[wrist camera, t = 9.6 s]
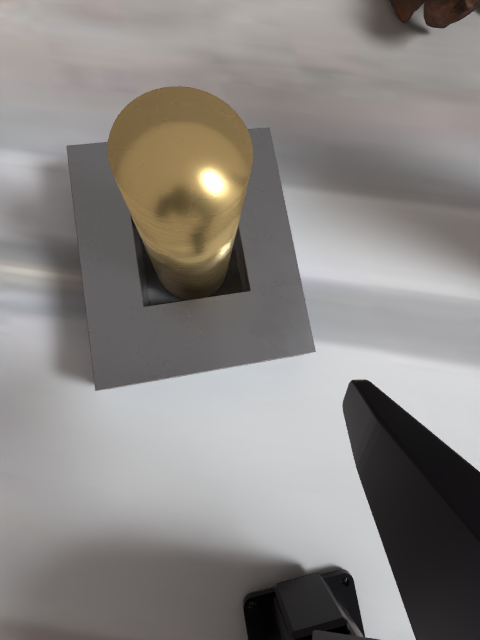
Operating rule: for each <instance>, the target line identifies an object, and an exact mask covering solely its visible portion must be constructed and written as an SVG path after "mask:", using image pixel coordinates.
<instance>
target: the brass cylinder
mask: <svg viewBox="0 0 480 640" xmlns="http://www.w3.org/2000/svg"><path fill="white" fill-rule="evenodd" d="M108 159H109V164H110V168H111V170H112V173H113V176H114V178H115V180H116V182H117V185H118V187H119V189H120V191H121V194H122V196H123V198H124V201H125V203H126V205H127V207H128V210H129V212H130V214H131V216H132V219H133V221H134V223H135V225H136V228H137V230H138V232H139V234H140V237H141V239H142V241H143V244H144V246H145V248H146V250H147V253H148V255H149V257H150V259H151V262H152V264H153V266H154V268H155V271H156V273H157V275H158V277H159V280H160V281H161V283H162V285H163V286H164V287H165V288H166V289H167V290H168V291H169V292H170V293H172V294H173V295H175V296H177V297H179V298H183V299H188V300H194V299H201V298H205V297H208V296H209V295H211V294H213V293H214V292H215V291H217V290H218V289H219V287H220V286H221V285H222V283H223V282H224V280H225V277H226V274H227V270H228V266H229V262H230V257H231V253H232V249H233V245H234V241H235V236H236V232H237V228H238V224H239V219H240V215H241V211H242V207H243V203H244V198H245V194H246V190H247V186H248V182H249V177H250V173H251V169H252V163H253V148H252V142H251V138H250V135H249V132H248V130H247V128H246V126H245V124H244V123H243V121H242V119H241V118H240V117H239V115H238V114H237V113H236V112H235V111H234V110H233V109H232V108H231V107H230V106H229V105H228V104H226V103H225V102H224V101H223V100H221V99H219V98H218V97H216V96H214V95H212V94H210V93H208V92H205V91H202V90H199V89H195V88H190V87H165V88H160V89H156V90H152V91H150V92H147V93H145V94H143V95H141V96H139V97H137V98H136V99H134V100H133V101H132V102H130V103H129V104H128V105H127V106H126V107H125V108H124V109H123V110H122V111H121V113H120V114H119V115H118V117H117V118H116V120H115V122H114V124H113V126H112V129H111V131H110V135H109V139H108Z"/></svg>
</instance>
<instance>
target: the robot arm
mask: <svg viewBox="0 0 480 640" xmlns="http://www.w3.org/2000/svg"><path fill="white" fill-rule="evenodd" d="M343 413H344V417H345V421H346V426H347V430H348V434H349V439H350V443H351V448H352V452H353V456H354V460H355V464H356V468H357V471H358V474H359V477H360V480H361V483H362V486H363V489H364V492H365V494H366V497H367V500H368V503H369V506H370V509H371V512H372V515H373V517H374V520H375V523H376V526H377V529H378V532H379V535H380V538H381V540H382V543H383V546H384V549H385V552H386V555H387V558H388V561H389V563H390V566H391V569H392V572H393V575H394V578H395V581H396V584H397V586H398V589H399V592H400V595H401V598H402V601H403V604H404V607H405V609H406V612H407V615H408V618H409V621H410V624H411V627H412V630H413V632H414V635H415V638H416V640H480V472H479V471H478V470H477V469H476V468H474V467H473V466H472V465H471V464H469V463H468V462H467V461H466V460H465V459H463V458H462V457H461V456H460V455H459V454H457V453H456V452H455V451H454V450H452V449H451V448H450V447H449V446H448V445H446V444H445V443H444V442H443V441H442V440H440V439H439V438H438V437H437V436H435V435H434V434H433V433H432V432H431V431H429V430H428V429H427V428H426V427H425V426H423V425H422V424H421V423H420V422H418V421H417V420H416V419H415V418H414V417H412V416H411V415H410V414H409V413H408V412H406V411H405V410H404V409H403V408H401V407H400V406H399V405H398V404H397V403H395V402H394V401H393V400H392V399H391V398H389V397H388V396H387V395H386V394H384V393H383V392H382V391H381V390H380V389H378V388H377V387H376V386H375V385H374V384H372V383H371V382H370V381H368V380H352V381H351V382H350V383H349V385H348V388H347V391H346V394H345V397H344V400H343ZM343 578H347V581H346V582H345V583H341V581H342V579H343ZM251 602H254V603H255V604H256V605H255V606H254V607H253V608H249V607H248V605H249V604H250V603H251ZM243 610H244V616H245V623H246V629H247V635H248V640H378V639H372V638H365V634H364V629H363V624H362V619H361V614H360V610H359V605H358V600H357V595H356V590H355V585H354V580H353V578H352V576H351V575H350V573H349V572H348V571H346V570H344V569H343V570H337V571H334V572H330V573H326V574H322V575H319V574H317V573H316V574H312V575H308V576H304V577H300V578H296V579H293V580H289V581H285V582H281V583H278V584H277V585H276V586H275V587H273V588H269V589H265V590H261V591H257V592H253V593H250V594H248V595H246V596H245V597H244V600H243Z"/></svg>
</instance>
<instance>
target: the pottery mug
mask: <svg viewBox="0 0 480 640" xmlns="http://www.w3.org/2000/svg"><path fill="white" fill-rule="evenodd" d="M389 1H390V2H391V4H392V6H393V8H394V9H395V11H396V13H397V14H398V16H399V17H400V19H401V20H402V22H406V21H407V20H408V19H409V18H410V17H411V15H412V14H413V13H414V11H416V10H417V9H418V8H419V7H420V6H421V5H422V4H423V3H424V2H425V4H424V19H425V22H426V24H427V25H428V26H430V27H434V28H445V27H447V26H448V25H450V24H452V23H454V22H457V21H459V20H461V19H463V18H464V17H466V16H467V15H469V14H470V13H471V12H473V11H474V10H475V9H476V8H477V7H478V6H479V5H480V0H389Z"/></svg>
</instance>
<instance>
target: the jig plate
mask: <svg viewBox="0 0 480 640" xmlns="http://www.w3.org/2000/svg"><path fill="white" fill-rule="evenodd" d="M247 130H248V132H249V135H250V138H251V142H252V148H253V163H252V169H251V173H250V177H249V182H248V186H247V190H246V194H245V198H244V203H243V207H242V211H241V215H240V219H239V224H238V228H237V232H236V236H235V241H234V246H235V252H236V257H237V263H238V268H239V274H240V279H241V285H242V290H243V292H241V293H234V294H227V295H221V296H214V297H207V298H201V299H194V300H187V301H181V302H174V303H167V304H161V305H154V306H150V304H149V297H148V290H147V283H146V276H145V270H144V263H143V256H142V249H141V242H140V235H139V232H138V230H137V228H136V225H135V223H134V221H133V219H132V216H131V214H130V212H129V210H128V207H127V205H126V203H125V201H124V198H123V196H122V194H121V191H120V189H119V187H118V185H117V182H116V180H115V178H114V176H113V173H112V170H111V168H110V164H109V159H108V142H104V143H93V144H82V145H71V146H67V154H68V163H69V171H70V180H71V188H72V197H73V205H74V213H75V222H76V230H77V239H78V247H79V256H80V264H81V273H82V281H83V290H84V298H85V307H86V315H87V324H88V332H89V340H90V349H91V357H92V366H93V374H94V383H95V391H97V390H105V389H112V388H118V387H123V386H129V385H135V384H140V383H146V382H152V381H157V380H163V379H169V378H174V377H180V376H185V375H191V374H197V373H202V372H208V371H214V370H219V369H225V368H231V367H236V366H242V365H248V364H253V363H259V362H264V361H270V360H276V359H281V358H287V357H293V356H298V355H303V354H308V353H312V352H316V351H315V346H314V341H313V337H312V332H311V327H310V322H309V317H308V312H307V308H306V303H305V298H304V293H303V288H302V283H301V279H300V274H299V269H298V264H297V259H296V254H295V250H294V245H293V240H292V235H291V230H290V225H289V220H288V216H287V211H286V206H285V201H284V196H283V191H282V187H281V182H280V177H279V172H278V167H277V162H276V158H275V153H274V148H273V143H272V138H271V133H270V129H269V128H258V129H247Z"/></svg>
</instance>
